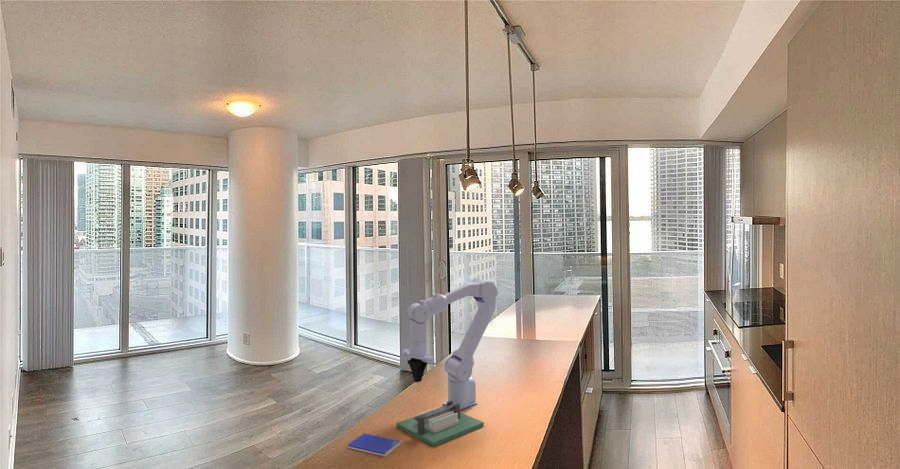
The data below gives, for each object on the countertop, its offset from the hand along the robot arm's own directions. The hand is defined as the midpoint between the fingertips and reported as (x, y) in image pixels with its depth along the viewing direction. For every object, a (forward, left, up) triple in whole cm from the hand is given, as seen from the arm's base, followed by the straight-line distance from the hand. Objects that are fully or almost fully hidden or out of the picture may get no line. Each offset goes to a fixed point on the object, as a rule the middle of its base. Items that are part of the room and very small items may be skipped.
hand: (417, 381), depth 157 cm
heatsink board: (+2, +13, -10) cm, 17 cm away
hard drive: (+23, +10, -11) cm, 28 cm away
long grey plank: (+3, +13, -6) cm, 15 cm away
